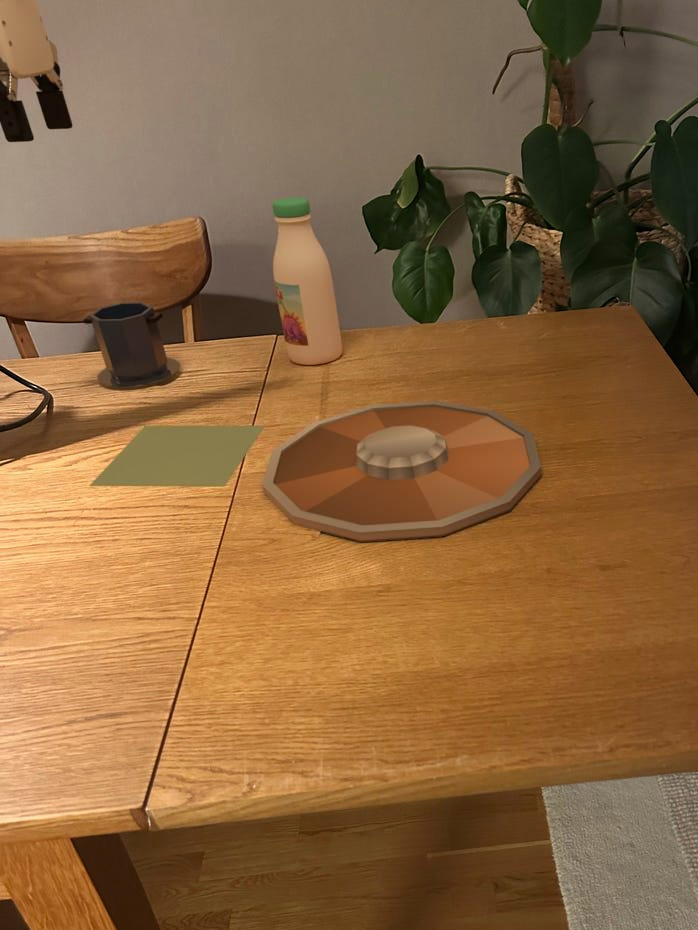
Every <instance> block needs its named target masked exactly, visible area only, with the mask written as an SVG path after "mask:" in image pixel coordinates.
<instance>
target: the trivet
mask: <svg viewBox="0 0 698 930" xmlns="http://www.w3.org/2000/svg"><path fill="white" fill-rule="evenodd" d="M166 357H167V356H166ZM167 360H168V363H167V364H166V365H167V368H166V370H165V371H164V372H163V373H161V374H159V375H157V376H154V377H151V378H148V379H144V380H138V381H120V380H116V379H114V378H112V377H111V374H110V372H108V371H107V368H106V367H104V369H102V370H101V371H100V372H99V373H97V376H96V380H97V383H98V385H99V387H101V388H103V389H106V390H111V391H118V392H119V391H120V392H121V391H122V392H123V391H124V392H125V391H126V392H127V391H129V392H130V391H138V390H144V389H149V388H153V387H162V386H164V385H167V384H169V383H171V382H173V381H175V380H176V379H178V378H179V377H180V376H181V375H182V365H181V363H180V362H179V361H178V360H177V359H175V358H172V357H167Z"/></svg>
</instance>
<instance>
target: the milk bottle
mask: <svg viewBox="0 0 698 930" xmlns="http://www.w3.org/2000/svg"><path fill="white" fill-rule="evenodd" d="M310 206H311V205H310V201H309V199H307V198H306V197H301V196H289V197H283V198H278V199H276V200H274V201H273V202H272V211H273V215H274V221H275V222H276V223H277V239H276V246H275V250H274V254H273V261H272V270H273V271H272V273H273V274H272V275H273V281H274V287H275V295H276V300H277V305H278V311H279V316H280V322H281V326H282V327H281V328H282V332H283V338H284V343H285V348H286V352H287V353H286V354H287V357H288V358H289V360H290V361H291V362H292V363H295V364H298V365H303V366H304V365H306V366H311V365H314V366H315V365H322V364H326V363H330V362H333V361H336V360H338V359H339V358H340V357H341V356H340V355H342V353H343V343H342V335H341V329H340V321H339V315H338V309H337V302H336V295H335V288H334V283H333V277H332V271H331V267H330V263H329V260H328V258H327V255H326V253H325V251H324V249H323V248H322V246H321V243H320V242H319V240H318V238H317V237H316V235H315V232H314V230H313V228H312V225H311V218H312V216H311V215H312V214H311V207H310Z"/></svg>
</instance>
